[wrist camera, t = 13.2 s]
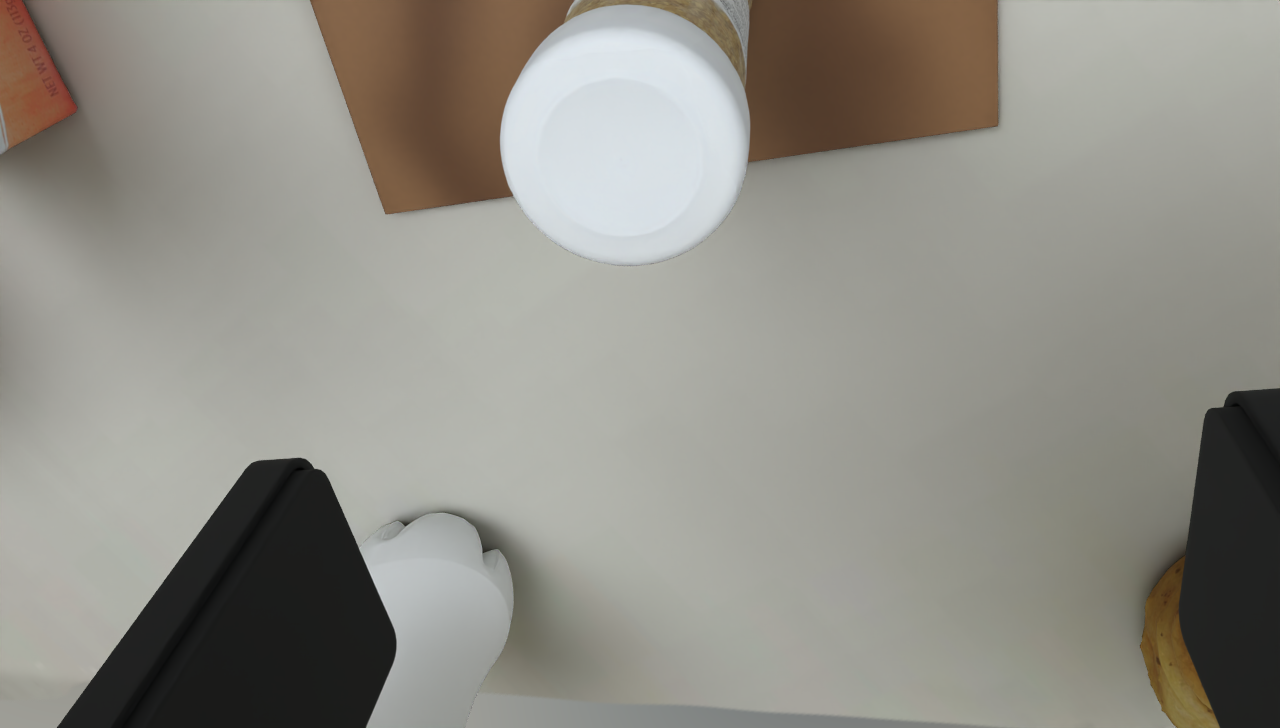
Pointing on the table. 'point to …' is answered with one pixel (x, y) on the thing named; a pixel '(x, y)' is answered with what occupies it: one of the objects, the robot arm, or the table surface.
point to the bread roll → (1173, 657)
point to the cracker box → (27, 79)
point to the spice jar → (632, 127)
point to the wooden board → (775, 84)
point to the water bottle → (438, 618)
